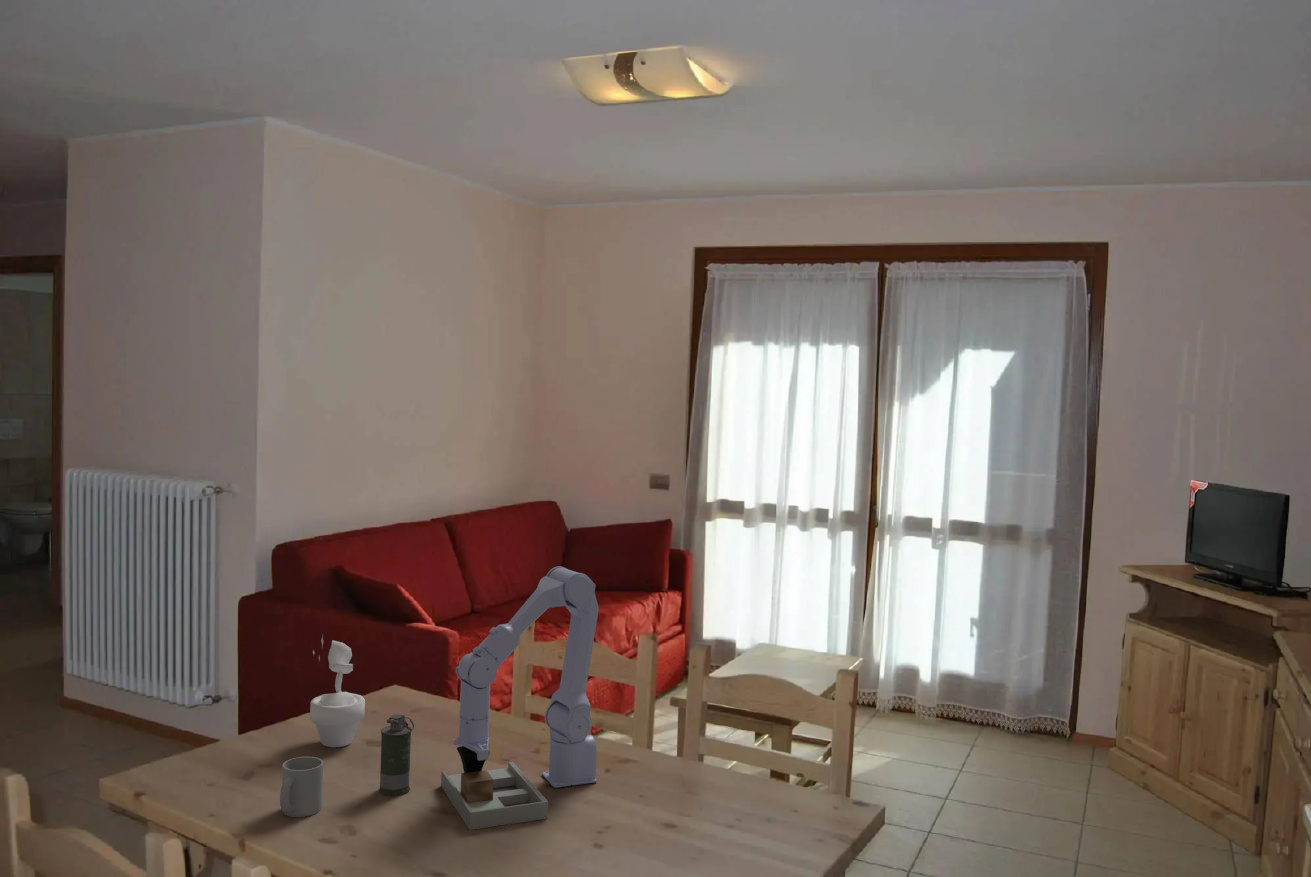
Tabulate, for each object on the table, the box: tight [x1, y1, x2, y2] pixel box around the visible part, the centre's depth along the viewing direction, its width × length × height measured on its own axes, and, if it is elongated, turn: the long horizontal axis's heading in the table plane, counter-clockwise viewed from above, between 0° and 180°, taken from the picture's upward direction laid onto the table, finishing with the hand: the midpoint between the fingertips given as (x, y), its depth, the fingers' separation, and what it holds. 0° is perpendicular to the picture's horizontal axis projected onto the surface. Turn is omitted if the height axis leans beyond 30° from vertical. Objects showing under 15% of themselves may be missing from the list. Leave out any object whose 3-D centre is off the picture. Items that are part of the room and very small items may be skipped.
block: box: [460, 769, 494, 803], centre depth 197 cm, size 5×5×4 cm
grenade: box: [378, 713, 415, 797], centre depth 203 cm, size 6×6×15 cm
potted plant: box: [309, 633, 366, 748], centre depth 227 cm, size 13×12×25 cm
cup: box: [279, 756, 324, 818], centre depth 191 cm, size 7×10×9 cm
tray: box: [440, 761, 549, 831], centre depth 200 cm, size 15×22×3 cm
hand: (472, 784), depth 201 cm, fingers closed
